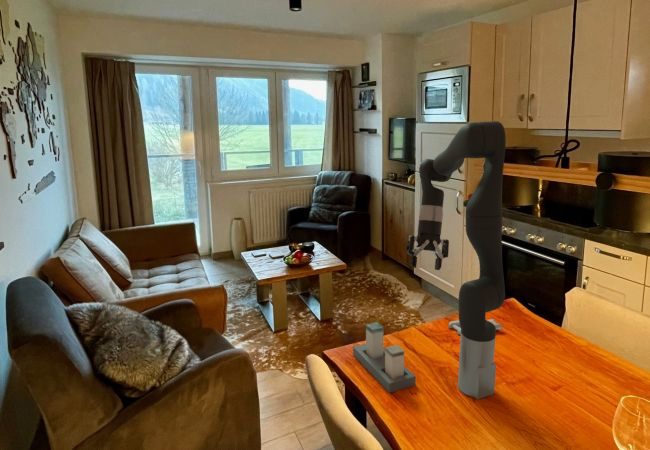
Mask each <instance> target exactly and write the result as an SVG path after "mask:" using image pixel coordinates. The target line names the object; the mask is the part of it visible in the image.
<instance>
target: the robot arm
mask: <svg viewBox="0 0 650 450" xmlns="http://www.w3.org/2000/svg"><path fill="white" fill-rule="evenodd" d="M505 130H506V129H505V127H504V125H503V123H501V122H500V121H496V120H493V121H475V122H468V123H465V124H464V125H463V126H461V127H460V128H459V130H458V131H457V133H456V134H455V135H454V137H453V138H452V139H451V141H450V143H449V144H448V146H447V147H446V148H445V149H444V150H443V151H442V152H440V153H439V154H438V155H437V156H436V157H434V159H432V158H425V159H424V160H422V161H421V163H420V165H419V167H418V168H419V170H418V171H419V172H418V173H419V174H418V175H419V179H420V184H421V204H420V210H419V215H418V225H417V235H416V236H415V235H408V236H407V242H406V247H405V253H406V254H408V255H410V262H409V263H410V264H409V265H410V267H411V268H413V269H416V268H417V264H418V263H417V262H418V255H419V254H420V252H422V251H429V252H432V253H433V254H434V256H435V261H434V270H436V271H440V269H442V263H443V259H445V258H448V257H449V247H450V241H449V239H447V238H443V239H441V235H442V227H443V226H442V225H443V219H444V218H443V217H444V210H443V207H444V198H445V191H444V190H443V189H440V188H438V187H435V186H434V185H433V183H432V182H437V183H445V182H448V181H449V180H451V177H452V175H453V173H455V172H456V171H457V170H459V169H460V168H461V167H462V166H463V164H464V162H465V159H484V168H483V173H482V176H481V179H480V181H479V183H478V184H477V186H476V188H475V189H474V191H473V193H472V194H471V196H470V198H469V200H468V202H467V204H466V206H465V232H466V233H465V234H466V236H467V238H468V241H469V243H470V245H471V246H472V248H473V250H474V251H475V253H476V254H477V257H478V261H479V277H478V278H477V279H473V280H469V281H466V282H464V283H462V285H460V289H459V291H458V320H459V323H460V326H461V327H460V328H461V335H460V339H459V340H460V342H459V343H460V345H459V358H458V359H459V360H458V378H457V379H458V380H457V388H458V389H459V391H460V392H461V393H463V394H465V395H467V396H469V397H473V398H474V399H476V400H480V399H483V398H486V397H489V396H492V395H495V388H496V387H495V386H496V374H497V373H496V372H497V363H495V362H494V361H495V351H496V349H495V348H496V338H497V337H496V336H497V330H496V327H495V326H494V324H492V323H491V322H489V321H487V320H488V319H487V320H486V313H489V312H492V311H495V310H499V309H500V308H501V307H502V306H503V305H504V302H505V298H506V288H505V287H506V286H505V278H504V270H503V269H504V268H503V267H504V266H503V245H502V244H503V243H502V242H503V241H502V239H503V238H502V236H503V235H502V234H503V179H504V178H503V176H504V166H505V165H504V164H505V157H506V156H505V155H506V145H507V143H506V142H507V140H506V139H507V136H506V131H505ZM415 242H416V243H417V244H416V245H415V247H414V243H415ZM440 245H441V249H440V247H439V246H440Z"/></svg>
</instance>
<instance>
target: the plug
mask: <svg viewBox="0 0 650 450" xmlns="http://www.w3.org/2000/svg"><path fill="white" fill-rule="evenodd" d="M365 344H366V355H367V356H368V357H369V358H370V359H375V358H379V357H383V347H384V326H382V325H381V324H380V323H379V322H377V321H375V322H372V323H368V324H365Z"/></svg>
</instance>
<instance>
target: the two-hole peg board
mask: <svg viewBox="0 0 650 450" xmlns="http://www.w3.org/2000/svg"><path fill="white" fill-rule="evenodd" d="M352 353H353V354H352V355H353V357H354V358H356V360H357V361H358V362H359V363H360V365H362V366H363V367H364V368H365V369H366V370H367V371H368V372H369V374H371V375H372V377H373V378H375V380H376V381H377V382H378V383H379V384H380V385H381V386H382V387H383V388H384V389H385V390H386V392H387V393H394V392H397V391H401V390H403V389H408V388H410V387H411V388H412V387H413V386H416V383H417V381H416V380H417V379H416V378H417V376H416V375H415V374H414V373H413V372H412V371H411V370H409V369H408V368H407V367H406V366H405V350H404V349H403V348H401V346H399V345H398V344H394V345H389V346H385V347H384V346H383V357H379V358H375V359H370V358H369V357H368V356H367V355H366V343H363V344H358V345H354V346H352Z"/></svg>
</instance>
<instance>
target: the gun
mask: <svg viewBox="0 0 650 450" xmlns="http://www.w3.org/2000/svg"><path fill="white" fill-rule="evenodd" d="M487 321H489V322H491V323H492V324H494V326H495V327H496V331H500V330H503V328H504V327H503V325H502V324H500V323H498V322H496V320H495V319H494V318H493V319H487ZM448 329H454V330H456V334H457V335H460V336H461V326H460V323H459V319H457V320H451V321H450V322H449V324H448Z"/></svg>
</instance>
